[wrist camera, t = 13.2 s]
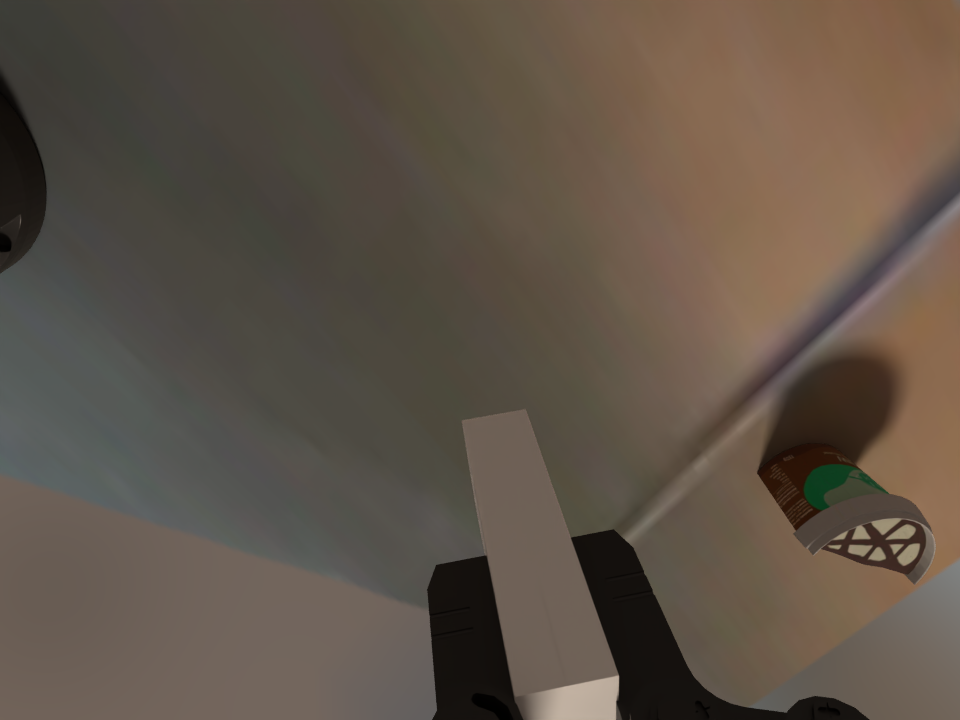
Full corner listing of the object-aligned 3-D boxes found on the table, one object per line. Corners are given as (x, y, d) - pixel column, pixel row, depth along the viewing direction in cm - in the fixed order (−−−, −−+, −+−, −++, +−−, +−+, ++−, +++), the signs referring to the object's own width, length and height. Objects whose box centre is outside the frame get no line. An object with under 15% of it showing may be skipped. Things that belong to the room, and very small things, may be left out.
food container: (887, 453, 57) (975, 534, 48) (843, 502, 60) (919, 586, 51) (786, 415, 53) (861, 495, 45) (744, 468, 56) (807, 553, 47)
